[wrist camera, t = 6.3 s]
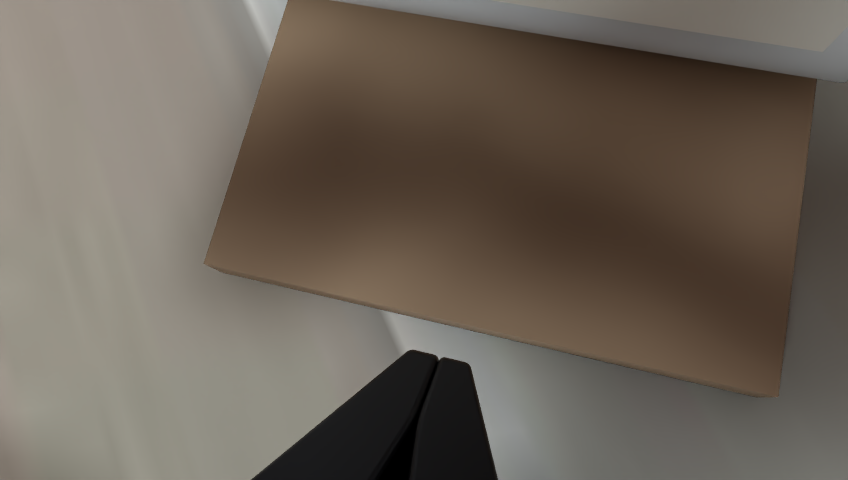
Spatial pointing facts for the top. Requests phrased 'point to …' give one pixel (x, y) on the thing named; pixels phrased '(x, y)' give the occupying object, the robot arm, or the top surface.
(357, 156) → the brown wooden plank
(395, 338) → the top surface
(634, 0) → the white rectangular box
